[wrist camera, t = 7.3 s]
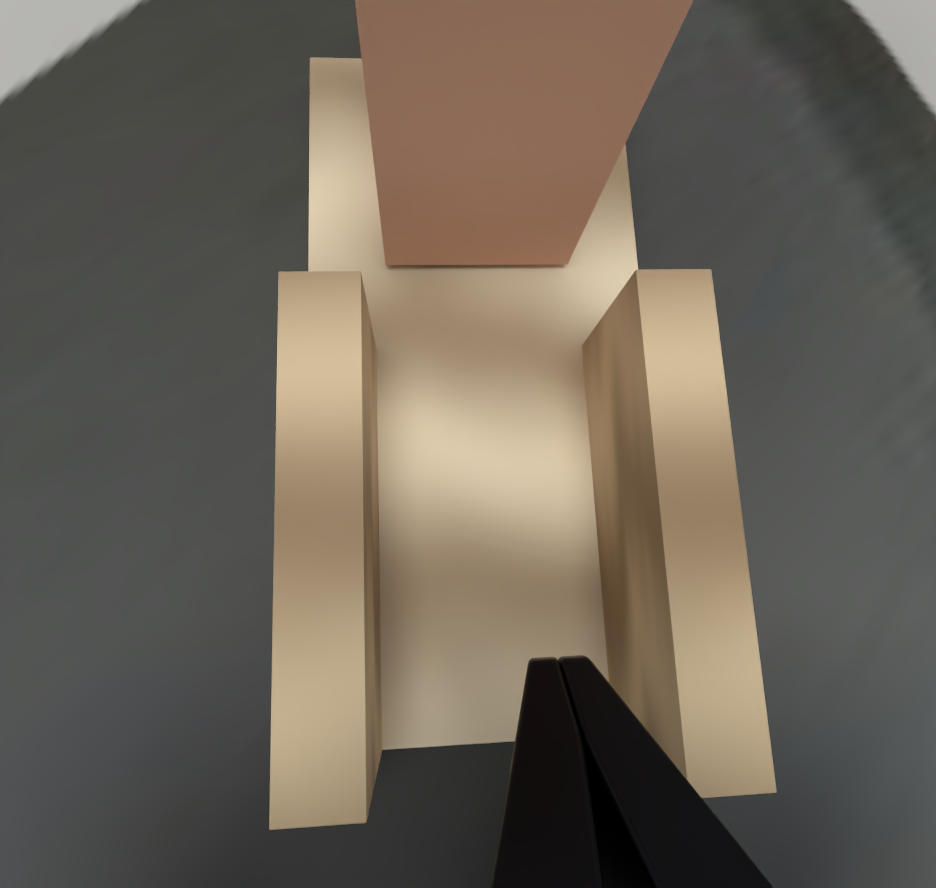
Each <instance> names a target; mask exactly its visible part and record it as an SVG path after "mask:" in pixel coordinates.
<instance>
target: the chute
mask: <svg viewBox="0 0 936 888" xmlns="http://www.w3.org/2000/svg"><path fill="white" fill-rule="evenodd" d="M575 655H584V656H586V657H588V658H589V659H590V660H591V661H592V662H593V663H594V665H595V666H596V667H597V668H598V670H599V671H600V672H601V673H602V675H603V676H604V677H605V678H606V680H607V681H608V682H609V683H610V685H611V686H612V687H613V688H614V690H615V691H616V692H617V693H618V695H619V696H620V697H621V698H622V700H623V701H624V702H625V703H626V705H627V706H628V707H629V708H630V710H631V711H632V712H633V713H634V714H635V716H636V717H637V718H638V719H639V721H640V722H641V723H642V724H643V726H644V727H645V728H646V729H647V731H648V732H649V733H650V734H651V736H652V737H653V738H654V739H655V741H656V742H657V743H658V744H659V746H660V747H661V748H662V749H663V751H664V752H665V753H666V754H667V756H668V757H669V758H670V759H671V761H672V762H673V763H674V764H675V765H676V767H677V768H678V769H679V770H680V772H681V773H682V774H683V775H684V777H685V778H686V779H687V780H688V782H689V783H690V784H691V785H692V787H693V788H694V789H695V790H696V792H697V793H698V794H699V795H700V797H701V798H710V797H724V796H737V795H751V794H764V793H777V791H776V783H775V775H774V767H773V759H772V751H771V743H770V735H769V727H768V719H767V711H766V703H765V695H764V687H763V679H762V671H761V663H760V655H759V647H758V639H757V631H756V623H755V615H754V608H753V600H752V592H751V584H750V576H749V568H748V560H747V552H746V544H745V536H744V528H743V520H742V512H741V504H740V496H739V488H738V480H737V472H736V464H735V456H734V448H733V440H732V432H731V424H730V416H729V408H728V400H727V392H726V384H725V376H724V368H723V360H722V352H721V344H720V336H719V328H718V320H717V312H716V304H715V296H714V288H713V280H712V272H711V269H664V270H638V264H637V254H636V244H635V234H634V224H633V214H632V205H631V195H630V185H629V175H628V165H627V155H626V145H624V147H623V149H622V151H621V153H620V155H619V157H618V160H617V162H616V164H615V166H614V168H613V170H612V172H611V174H610V176H609V178H608V181H607V183H606V185H605V187H604V189H603V191H602V193H601V195H600V197H599V199H598V202H597V204H596V206H595V208H594V210H593V212H592V214H591V216H590V218H589V220H588V223H587V225H586V227H585V229H584V231H583V233H582V235H581V237H580V239H579V241H578V244H577V246H576V248H575V250H574V252H573V254H572V256H571V258H570V260H569V262H568V264H544V265H385V256H384V247H383V239H382V230H381V221H380V213H379V204H378V195H377V187H376V178H375V169H374V161H373V152H372V143H371V134H370V126H369V117H368V108H367V100H366V91H365V82H364V74H363V65H362V59H357V58H310V133H309V271H306V272H279V281H278V340H277V399H276V458H275V518H274V577H273V636H272V696H271V755H270V814H269V830H274V829H288V828H302V827H315V826H329V825H342V824H356V823H366V822H367V818H368V813H369V809H370V804H371V799H372V795H373V790H374V786H375V781H376V776H377V772H378V767H379V763H380V758H381V753H382V750H387V749H403V748H418V747H434V746H449V745H465V744H480V743H496V742H511V741H515V738H516V732H517V726H518V720H519V714H520V708H521V702H522V696H523V690H524V684H525V678H526V672H527V666H528V661H529V660H530V659H531V658H538V657H555V658H556V659H557V660H558V659H559V658H560V657H562V656H575Z"/></svg>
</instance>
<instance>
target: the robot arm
mask: <svg viewBox="0 0 936 888" xmlns="http://www.w3.org/2000/svg"><path fill="white" fill-rule="evenodd" d="M491 888H773V887H772V885H771V884H770V882H769V881H768V880H767V879H766V877H765V876H764V875H763V874H762V872H761V871H760V870H759V869H758V868H757V866H756V865H755V864H754V863H753V861H752V860H751V859H750V858H749V856H748V855H747V854H746V853H745V851H744V850H743V849H742V848H741V846H740V845H739V844H738V843H737V841H736V840H735V839H734V838H733V836H732V835H731V834H730V833H729V831H728V830H727V829H726V828H725V826H724V825H723V824H722V823H721V821H720V820H719V819H718V818H717V817H716V815H715V814H714V813H713V812H712V810H711V809H710V808H709V807H708V805H707V804H706V803H705V802H704V800H703V799H702V798H701V797H700V795H699V794H698V793H697V792H696V790H695V789H694V788H693V787H692V785H691V784H690V783H689V782H688V780H687V779H686V778H685V777H684V775H683V774H682V773H681V772H680V770H679V769H678V768H677V767H676V765H675V764H674V763H673V762H672V761H671V759H670V758H669V757H668V756H667V754H666V753H665V752H664V751H663V749H662V748H661V747H660V746H659V744H658V743H657V742H656V741H655V739H654V738H653V737H652V736H651V734H650V733H649V732H648V731H647V729H646V728H645V727H644V726H643V724H642V723H641V722H640V721H639V719H638V718H637V717H636V716H635V714H634V713H633V712H632V711H631V710H630V708H629V707H628V706H627V705H626V703H625V702H624V701H623V700H622V698H621V697H620V696H619V695H618V693H617V692H616V691H615V690H614V688H613V687H612V686H611V685H610V683H609V682H608V681H607V680H606V678H605V677H604V676H603V675H602V673H601V672H600V671H599V670H598V668H597V667H596V666H595V665H594V663H593V662H592V661H591V660H590V659H589V658H588V657H586V656H584V655H575V656H562V657H560V658H559V659H558V660H557V659H556V658H555V657H538V658H531V659H530V660H529V661H528V666H527V672H526V678H525V684H524V690H523V696H522V702H521V708H520V714H519V720H518V726H517V732H516V738H515V744H514V750H513V756H512V762H511V768H510V774H509V780H508V786H507V792H506V798H505V804H504V810H503V816H502V822H501V828H500V835H499V841H498V847H497V853H496V859H495V865H494V871H493V877H492V883H491Z"/></svg>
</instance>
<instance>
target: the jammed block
mask: <svg viewBox="0 0 936 888" xmlns="http://www.w3.org/2000/svg"><path fill="white" fill-rule="evenodd" d="M692 2H693V0H355V4H356V13H357V22H358V30H359V39H360V48H361V56H362V65H363V74H364V82H365V91H366V100H367V108H368V117H369V126H370V134H371V143H372V152H373V161H374V169H375V178H376V187H377V195H378V204H379V213H380V221H381V230H382V239H383V247H384V256H385V265H544V264H568V262H569V260H570V258H571V256H572V254H573V252H574V250H575V248H576V246H577V244H578V241H579V239H580V237H581V235H582V233H583V231H584V229H585V227H586V225H587V223H588V220H589V218H590V216H591V214H592V212H593V210H594V208H595V206H596V204H597V202H598V199H599V197H600V195H601V193H602V191H603V189H604V187H605V185H606V183H607V181H608V178H609V176H610V174H611V172H612V170H613V168H614V166H615V164H616V162H617V160H618V157H619V155H620V153H621V151H622V149H623V147H624V145H625V143H626V141H627V139H628V137H629V134H630V132H631V130H632V128H633V126H634V124H635V122H636V120H637V118H638V116H639V113H640V111H641V109H642V107H643V105H644V103H645V101H646V99H647V97H648V95H649V92H650V90H651V88H652V86H653V84H654V82H655V80H656V78H657V76H658V74H659V71H660V69H661V67H662V65H663V63H664V61H665V59H666V57H667V55H668V53H669V50H670V48H671V46H672V44H673V42H674V40H675V38H676V36H677V34H678V32H679V29H680V27H681V25H682V23H683V21H684V19H685V17H686V15H687V13H688V11H689V8H690V6H691V4H692Z"/></svg>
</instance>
